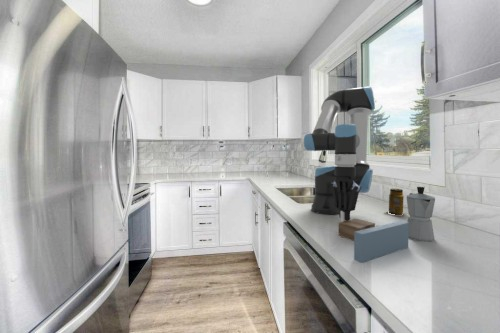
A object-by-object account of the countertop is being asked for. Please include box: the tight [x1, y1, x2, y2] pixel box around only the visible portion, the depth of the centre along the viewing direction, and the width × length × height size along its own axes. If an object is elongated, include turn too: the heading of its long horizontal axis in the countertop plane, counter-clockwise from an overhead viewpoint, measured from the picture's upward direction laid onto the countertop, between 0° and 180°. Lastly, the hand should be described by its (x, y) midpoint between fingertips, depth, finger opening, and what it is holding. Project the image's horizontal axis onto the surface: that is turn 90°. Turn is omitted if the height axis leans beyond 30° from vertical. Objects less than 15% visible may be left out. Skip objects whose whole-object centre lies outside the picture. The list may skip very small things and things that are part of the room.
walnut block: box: [338, 217, 376, 241], centre depth 89 cm, size 10×8×5 cm
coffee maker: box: [406, 186, 436, 243], centre depth 87 cm, size 15×9×18 cm, turn 168°
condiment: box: [383, 188, 407, 217], centre depth 119 cm, size 7×8×12 cm
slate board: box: [353, 220, 409, 263], centre depth 74 cm, size 22×2×8 cm, turn 118°
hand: (344, 227), depth 93 cm, fingers closed
